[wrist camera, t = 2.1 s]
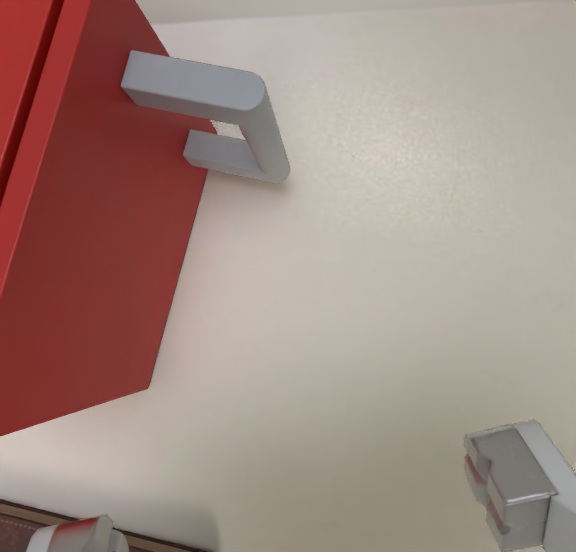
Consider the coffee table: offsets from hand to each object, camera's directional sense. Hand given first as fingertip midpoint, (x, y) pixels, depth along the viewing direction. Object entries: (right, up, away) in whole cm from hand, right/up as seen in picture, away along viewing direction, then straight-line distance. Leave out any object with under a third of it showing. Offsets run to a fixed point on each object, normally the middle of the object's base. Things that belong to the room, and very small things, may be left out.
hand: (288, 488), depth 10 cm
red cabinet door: (-4, +5, +19) cm, 20 cm away
